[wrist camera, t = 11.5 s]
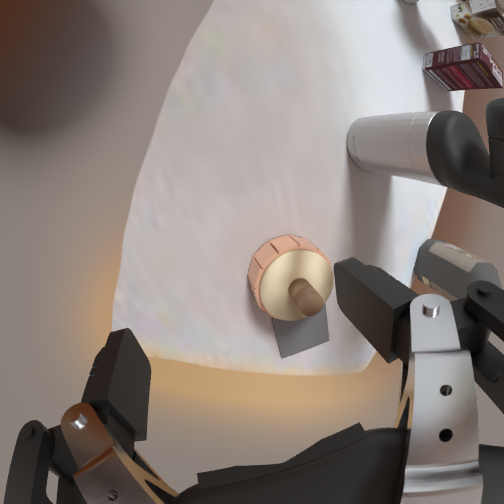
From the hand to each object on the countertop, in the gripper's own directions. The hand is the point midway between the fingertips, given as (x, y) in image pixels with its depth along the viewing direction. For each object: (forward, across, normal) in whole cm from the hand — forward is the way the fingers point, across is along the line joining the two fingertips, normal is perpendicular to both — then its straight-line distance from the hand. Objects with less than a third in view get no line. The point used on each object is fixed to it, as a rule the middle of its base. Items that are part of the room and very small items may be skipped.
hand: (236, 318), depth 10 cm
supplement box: (+30, -51, -16) cm, 61 cm away
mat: (+30, -10, +28) cm, 42 cm away
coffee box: (+30, -73, -34) cm, 86 cm away
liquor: (+30, -42, +24) cm, 57 cm away
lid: (+25, -9, +15) cm, 31 cm away
